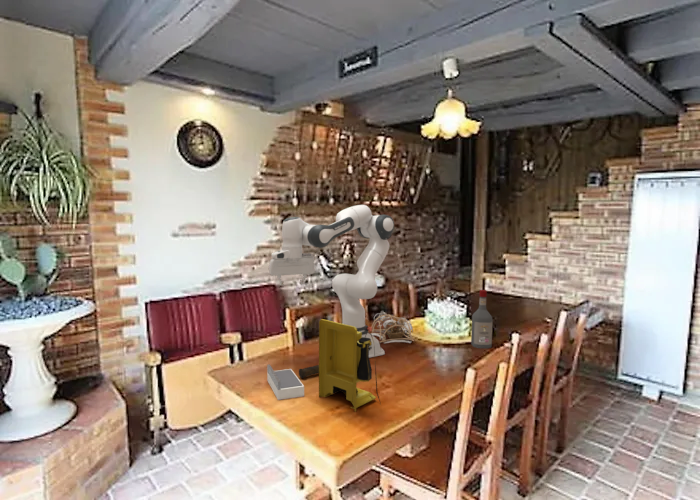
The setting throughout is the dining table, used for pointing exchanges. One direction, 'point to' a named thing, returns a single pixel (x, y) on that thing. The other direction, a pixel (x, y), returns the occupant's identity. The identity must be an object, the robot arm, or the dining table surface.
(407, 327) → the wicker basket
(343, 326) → the vintage telephone
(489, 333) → the liquor
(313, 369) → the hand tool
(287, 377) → the grey open box
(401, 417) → the dining table surface
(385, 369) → the dining table surface
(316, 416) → the dining table surface
